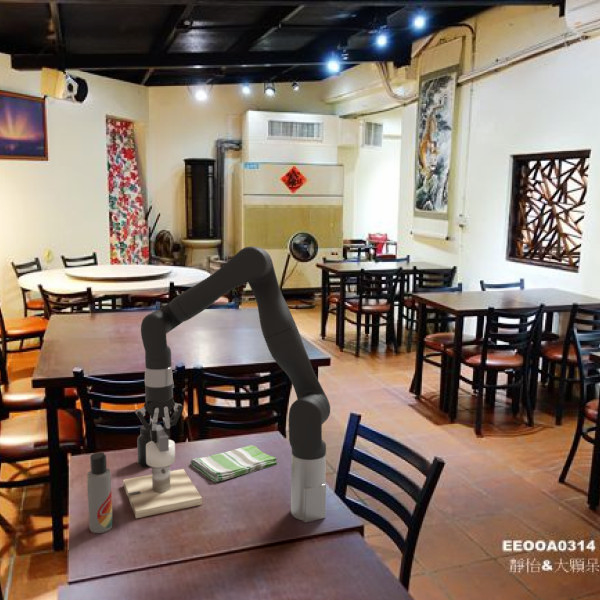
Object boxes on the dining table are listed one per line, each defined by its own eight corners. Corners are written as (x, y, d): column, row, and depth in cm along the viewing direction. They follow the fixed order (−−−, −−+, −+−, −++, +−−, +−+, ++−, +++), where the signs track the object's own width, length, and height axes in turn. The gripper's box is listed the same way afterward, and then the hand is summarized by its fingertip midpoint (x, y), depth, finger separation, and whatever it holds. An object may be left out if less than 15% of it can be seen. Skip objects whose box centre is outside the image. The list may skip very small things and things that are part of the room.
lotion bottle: (116, 527, 152) (114, 454, 149) (96, 536, 148) (93, 461, 145) (105, 519, 156) (102, 447, 153) (85, 527, 152) (81, 454, 149)
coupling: (179, 465, 165) (178, 435, 164) (150, 470, 162) (149, 439, 161) (170, 452, 174) (169, 423, 173) (143, 456, 171) (142, 427, 169)
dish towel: (189, 465, 191) (189, 455, 190) (249, 448, 204) (249, 438, 204) (215, 485, 177) (215, 474, 177) (278, 466, 191) (278, 455, 190)
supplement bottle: (156, 467, 187) (155, 431, 185) (135, 467, 187) (134, 431, 185) (161, 458, 194) (161, 423, 192) (141, 458, 194) (140, 423, 192)
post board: (201, 504, 165) (201, 470, 163) (136, 518, 157) (134, 483, 155) (183, 474, 183) (183, 444, 181) (123, 485, 175) (122, 454, 173)
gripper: (136, 389, 158) (138, 450, 161) (187, 382, 164) (188, 441, 167) (130, 381, 165) (132, 440, 167) (179, 375, 171) (180, 432, 174)
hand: (160, 440), depth 167 cm, fingers closed on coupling, 2 cm apart
